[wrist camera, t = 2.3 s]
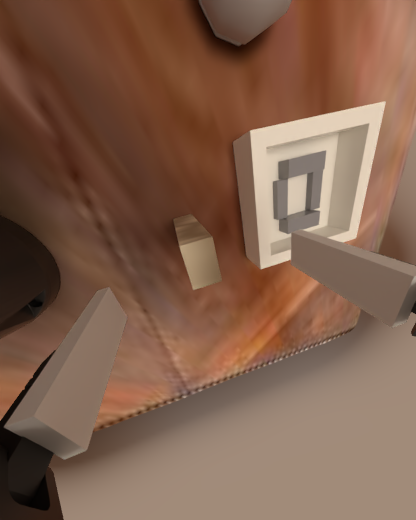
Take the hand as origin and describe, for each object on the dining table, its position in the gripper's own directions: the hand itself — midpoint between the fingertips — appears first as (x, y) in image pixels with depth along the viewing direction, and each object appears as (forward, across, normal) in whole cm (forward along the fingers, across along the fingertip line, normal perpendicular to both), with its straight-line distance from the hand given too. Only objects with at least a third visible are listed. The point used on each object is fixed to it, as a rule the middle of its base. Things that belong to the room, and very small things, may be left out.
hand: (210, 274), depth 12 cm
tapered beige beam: (+12, 0, 0) cm, 12 cm away
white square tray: (+12, +16, +1) cm, 20 cm away
